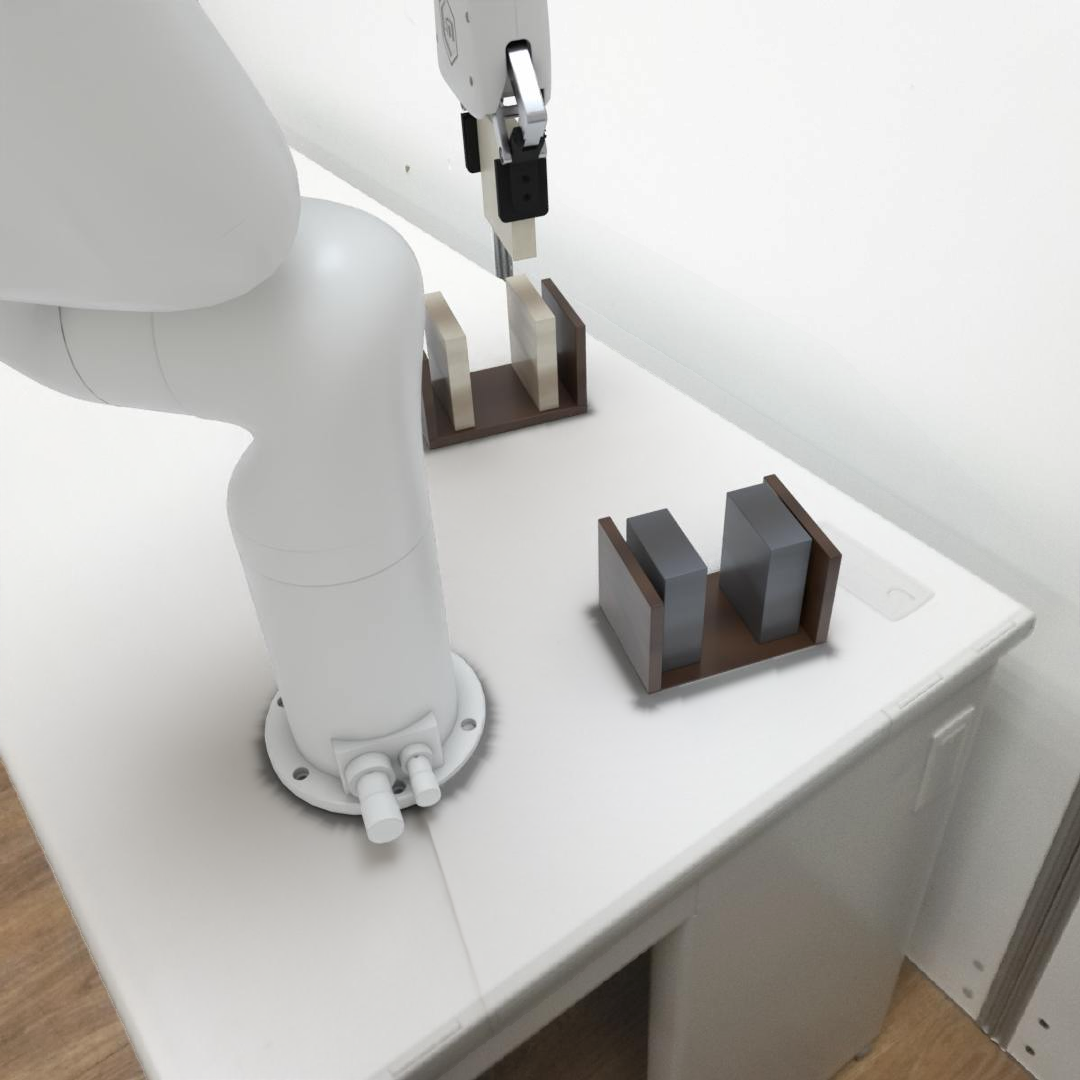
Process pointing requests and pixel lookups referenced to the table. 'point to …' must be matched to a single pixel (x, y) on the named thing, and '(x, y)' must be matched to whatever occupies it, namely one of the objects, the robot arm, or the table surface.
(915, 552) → the table surface
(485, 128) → the white book
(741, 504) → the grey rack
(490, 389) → the brown book rack
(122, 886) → the table surface
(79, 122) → the robot arm
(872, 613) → the table surface
